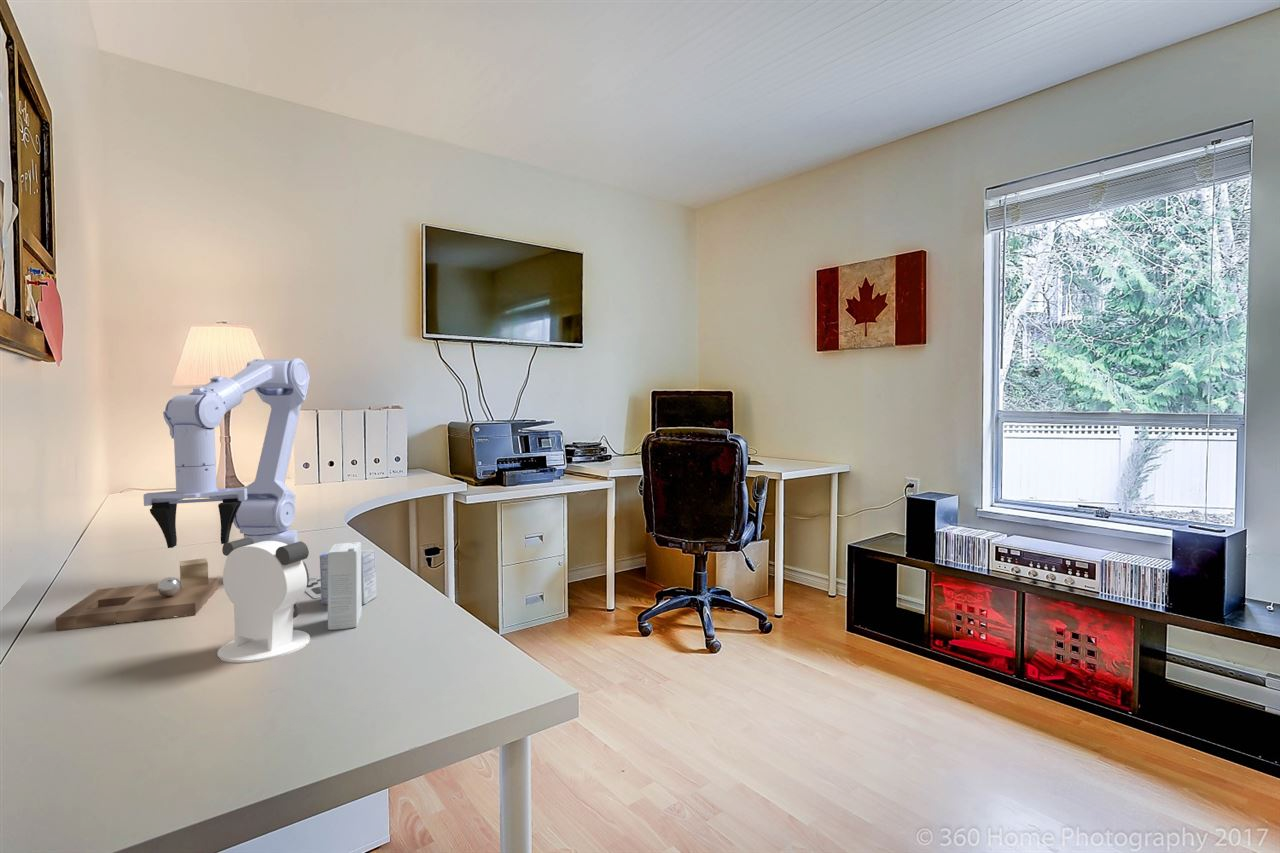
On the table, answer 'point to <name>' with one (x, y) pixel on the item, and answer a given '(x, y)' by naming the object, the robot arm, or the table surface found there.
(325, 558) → the medicine box
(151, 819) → the table surface
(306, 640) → the white rounded upright piece
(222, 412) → the robot arm
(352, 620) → the skincare box
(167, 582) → the ball
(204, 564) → the pale gold metal block
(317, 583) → the handheld gaming device
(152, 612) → the board
